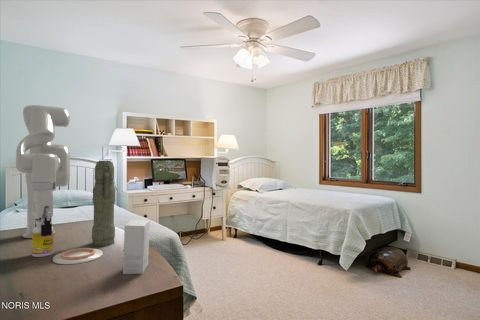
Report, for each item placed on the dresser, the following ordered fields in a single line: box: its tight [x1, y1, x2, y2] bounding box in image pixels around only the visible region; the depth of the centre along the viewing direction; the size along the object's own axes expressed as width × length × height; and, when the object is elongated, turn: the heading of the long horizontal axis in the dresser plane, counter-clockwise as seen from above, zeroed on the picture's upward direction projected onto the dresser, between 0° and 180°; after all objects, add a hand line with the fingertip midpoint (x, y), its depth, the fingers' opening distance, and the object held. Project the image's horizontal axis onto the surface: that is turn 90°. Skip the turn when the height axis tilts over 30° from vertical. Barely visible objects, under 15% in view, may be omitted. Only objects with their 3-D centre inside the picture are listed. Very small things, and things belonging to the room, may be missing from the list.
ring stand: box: [52, 247, 103, 265], centre depth 109 cm, size 16×16×2 cm
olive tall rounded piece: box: [91, 160, 116, 247], centre depth 126 cm, size 9×12×35 cm
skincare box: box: [122, 219, 150, 275], centre depth 97 cm, size 8×7×16 cm
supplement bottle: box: [31, 219, 55, 258], centre depth 110 cm, size 7×7×13 cm
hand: (43, 233), depth 110 cm, fingers open, 9 cm apart
